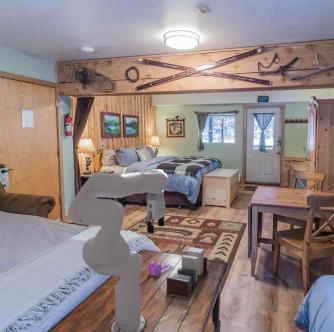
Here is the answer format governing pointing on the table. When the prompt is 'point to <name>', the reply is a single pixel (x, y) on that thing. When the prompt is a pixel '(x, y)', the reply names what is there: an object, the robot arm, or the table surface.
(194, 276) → the grey books
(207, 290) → the table surface
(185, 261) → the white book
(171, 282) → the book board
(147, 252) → the table surface
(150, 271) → the bracket
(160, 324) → the table surface
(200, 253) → the white books
